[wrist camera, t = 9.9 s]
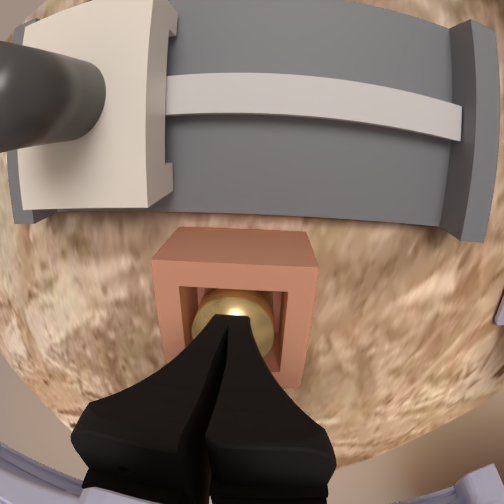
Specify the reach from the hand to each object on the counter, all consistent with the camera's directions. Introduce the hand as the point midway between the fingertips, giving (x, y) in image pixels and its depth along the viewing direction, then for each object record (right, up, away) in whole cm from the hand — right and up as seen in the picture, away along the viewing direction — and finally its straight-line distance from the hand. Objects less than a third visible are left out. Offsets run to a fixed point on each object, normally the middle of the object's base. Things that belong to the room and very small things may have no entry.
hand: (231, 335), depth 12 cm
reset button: (0, +1, +3) cm, 3 cm away
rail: (0, +10, +1) cm, 10 cm away
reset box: (0, +2, +4) cm, 4 cm away
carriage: (-5, +10, 0) cm, 11 cm away
